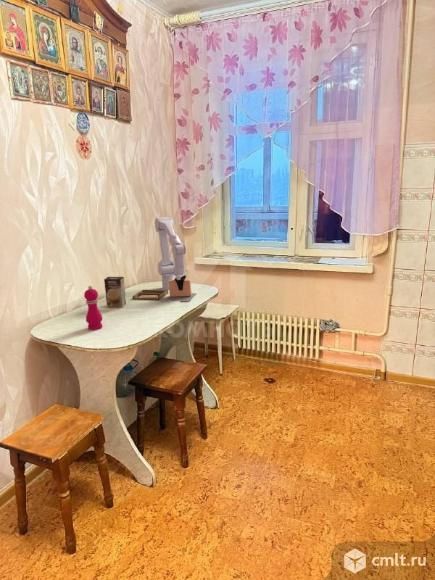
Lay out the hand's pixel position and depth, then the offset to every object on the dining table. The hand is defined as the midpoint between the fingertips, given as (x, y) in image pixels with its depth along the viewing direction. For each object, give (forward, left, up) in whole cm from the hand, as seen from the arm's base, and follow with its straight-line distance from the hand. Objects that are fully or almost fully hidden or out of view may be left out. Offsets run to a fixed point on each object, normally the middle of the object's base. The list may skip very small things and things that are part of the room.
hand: (181, 289), depth 226 cm
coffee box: (+21, -30, -5) cm, 37 cm away
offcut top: (+6, -18, -4) cm, 19 cm away
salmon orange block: (0, 0, -4) cm, 4 cm away
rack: (+2, -18, -5) cm, 19 cm away
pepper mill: (+53, -25, -5) cm, 59 cm away
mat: (+1, 0, -5) cm, 5 cm away
